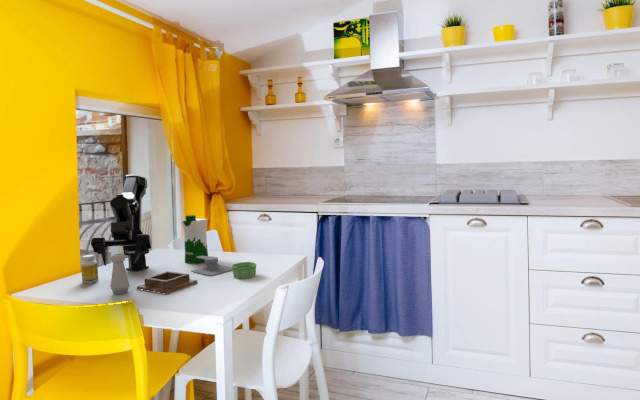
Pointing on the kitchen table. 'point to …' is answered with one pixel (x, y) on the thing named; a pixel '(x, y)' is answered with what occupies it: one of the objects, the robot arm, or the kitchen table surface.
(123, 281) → the salt shaker
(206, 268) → the shower valve
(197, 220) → the milk carton
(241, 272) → the ramekin
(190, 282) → the collar socket
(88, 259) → the supplement bottle
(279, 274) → the kitchen table surface
